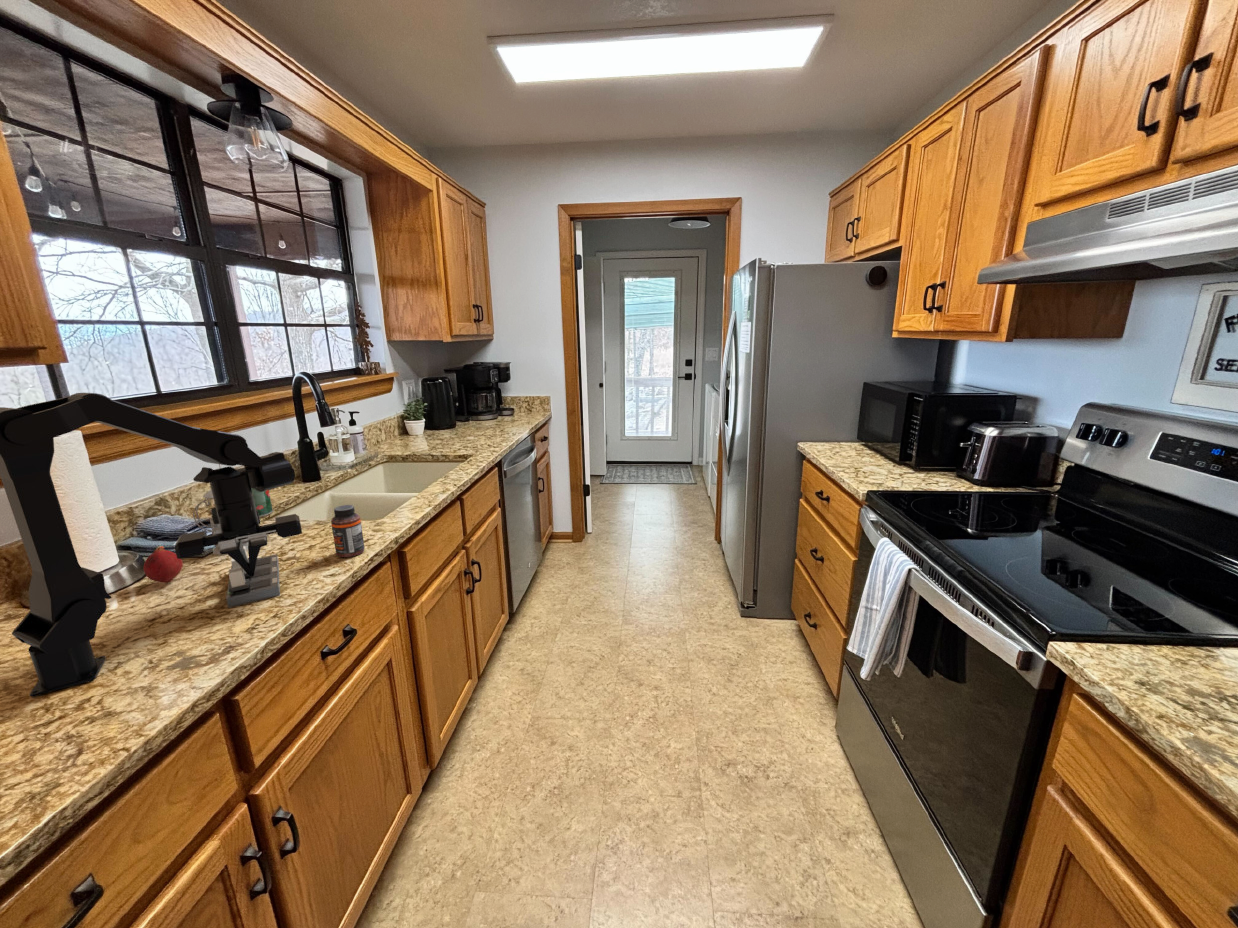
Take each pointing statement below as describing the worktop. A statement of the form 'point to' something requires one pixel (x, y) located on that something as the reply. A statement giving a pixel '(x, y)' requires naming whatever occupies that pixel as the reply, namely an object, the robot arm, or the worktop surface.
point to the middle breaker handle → (236, 565)
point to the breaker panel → (258, 583)
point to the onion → (162, 565)
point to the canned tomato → (262, 502)
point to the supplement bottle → (347, 532)
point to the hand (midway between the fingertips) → (252, 575)
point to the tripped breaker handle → (237, 580)
